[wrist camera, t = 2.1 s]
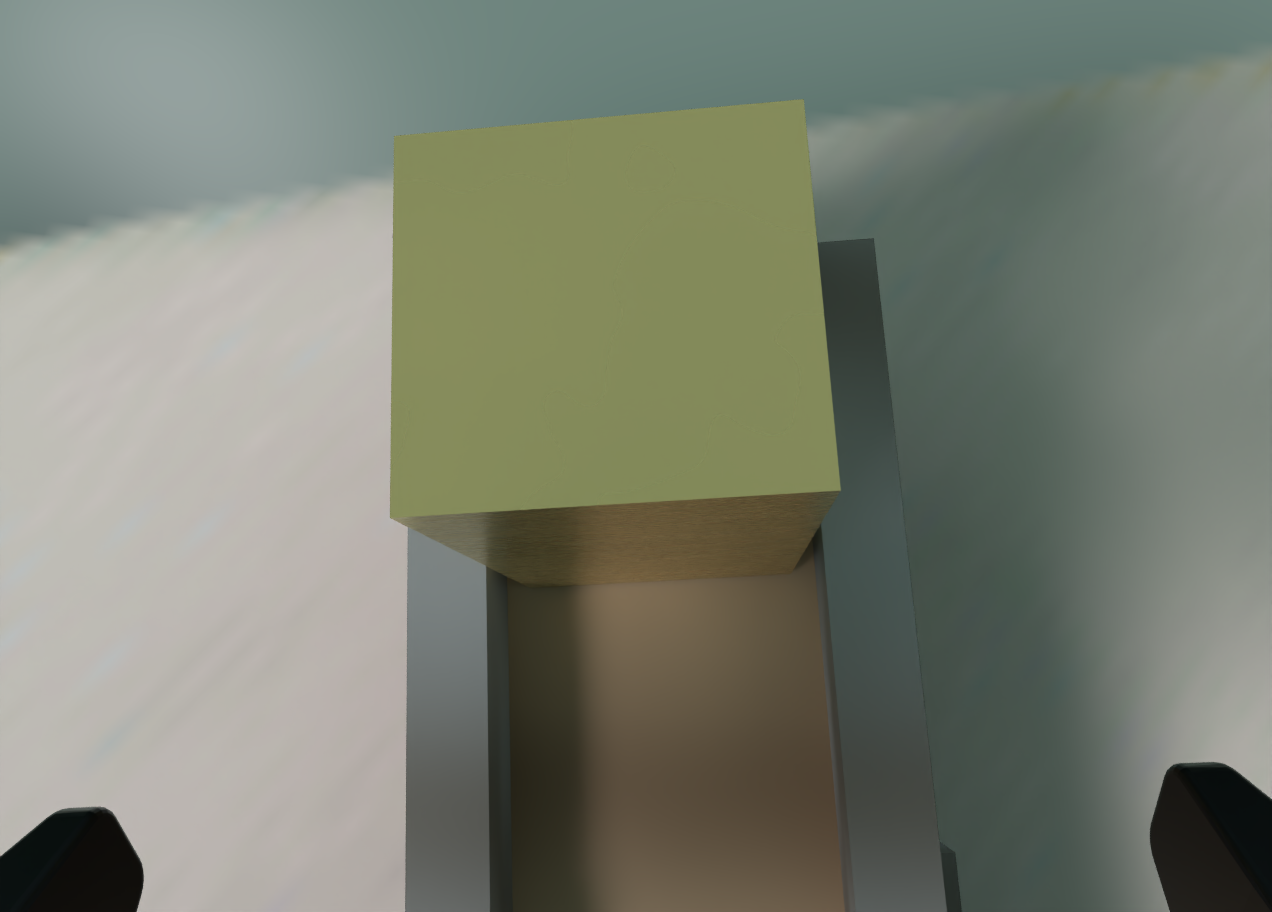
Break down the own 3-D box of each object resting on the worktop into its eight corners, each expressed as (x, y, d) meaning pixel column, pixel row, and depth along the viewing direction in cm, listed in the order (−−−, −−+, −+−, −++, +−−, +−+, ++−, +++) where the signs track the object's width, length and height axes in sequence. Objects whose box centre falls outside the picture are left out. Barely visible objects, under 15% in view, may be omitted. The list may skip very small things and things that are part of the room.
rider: (790, 573, 16) (841, 490, 9) (530, 588, 16) (389, 518, 9) (771, 336, 17) (803, 99, 10) (525, 355, 17) (394, 135, 10)
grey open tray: (974, 1348, 17) (1139, 1782, 10) (462, 1347, 18) (301, 1754, 11) (870, 357, 21) (939, 204, 14) (457, 386, 22) (338, 253, 15)
